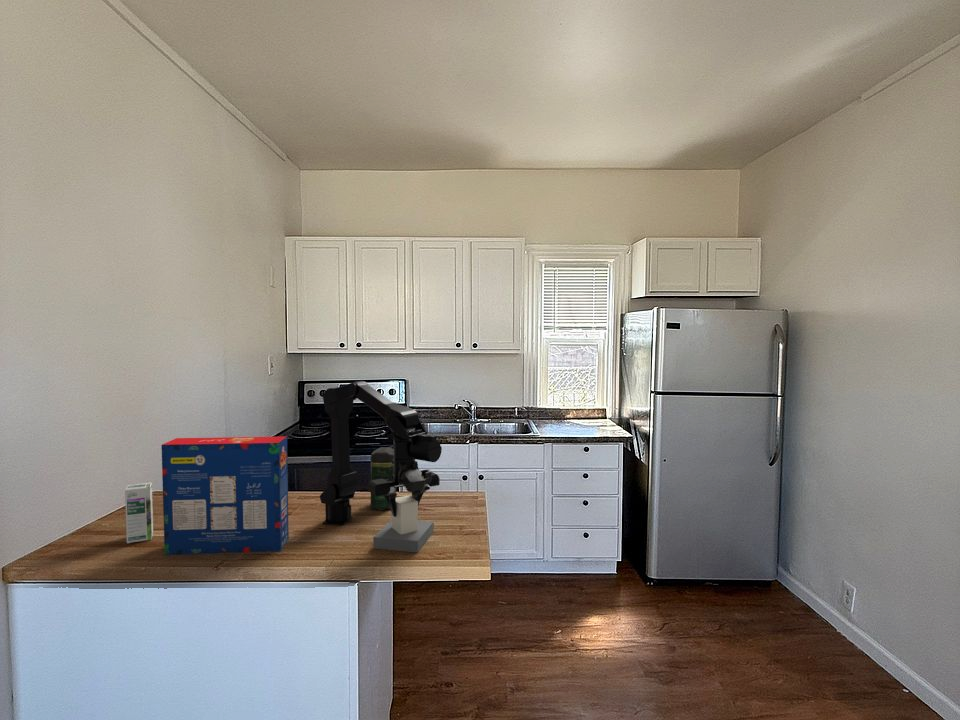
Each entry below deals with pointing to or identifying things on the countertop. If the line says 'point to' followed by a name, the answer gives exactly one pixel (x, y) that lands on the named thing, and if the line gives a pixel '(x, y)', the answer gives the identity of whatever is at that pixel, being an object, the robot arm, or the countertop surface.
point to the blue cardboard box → (225, 495)
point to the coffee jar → (381, 473)
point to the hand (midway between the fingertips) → (404, 514)
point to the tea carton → (405, 515)
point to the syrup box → (139, 512)
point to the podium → (403, 538)
